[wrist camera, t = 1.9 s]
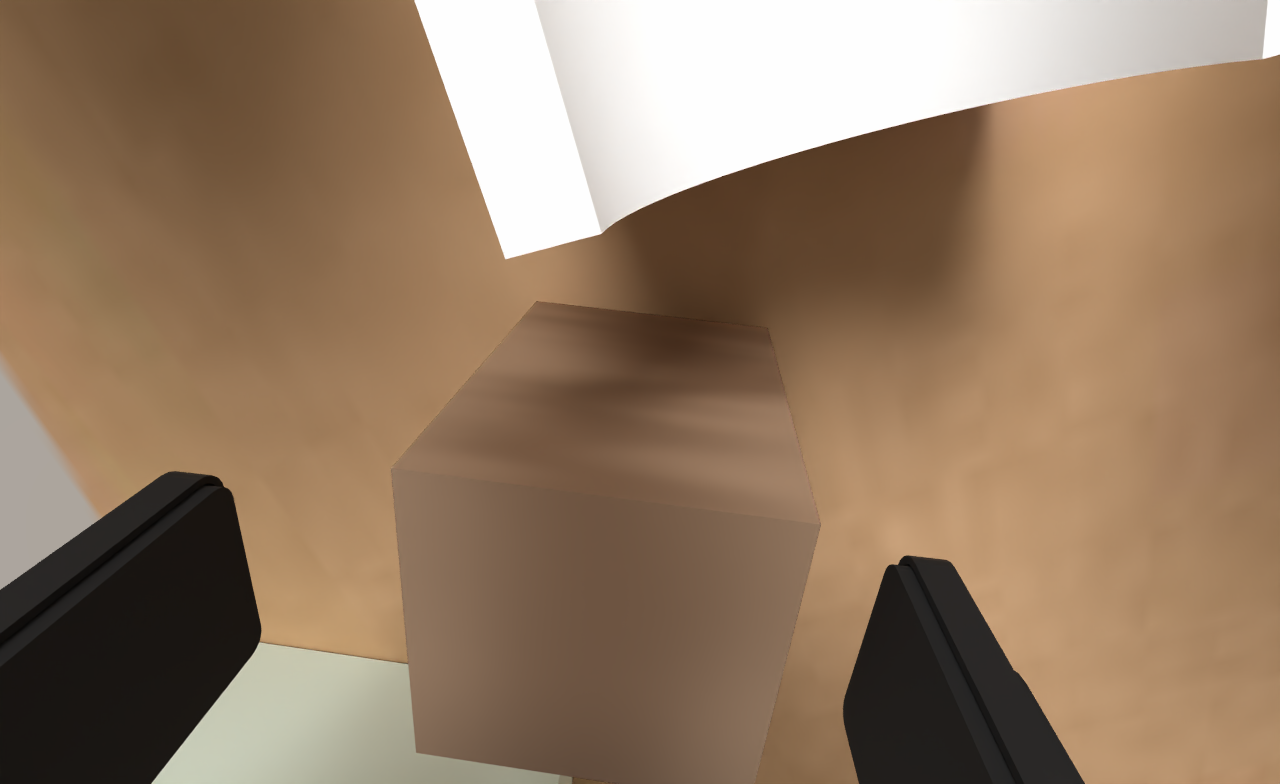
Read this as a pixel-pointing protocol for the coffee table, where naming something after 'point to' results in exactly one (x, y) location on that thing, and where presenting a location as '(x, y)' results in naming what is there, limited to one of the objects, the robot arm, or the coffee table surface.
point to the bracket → (763, 82)
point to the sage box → (320, 729)
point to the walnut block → (606, 551)
